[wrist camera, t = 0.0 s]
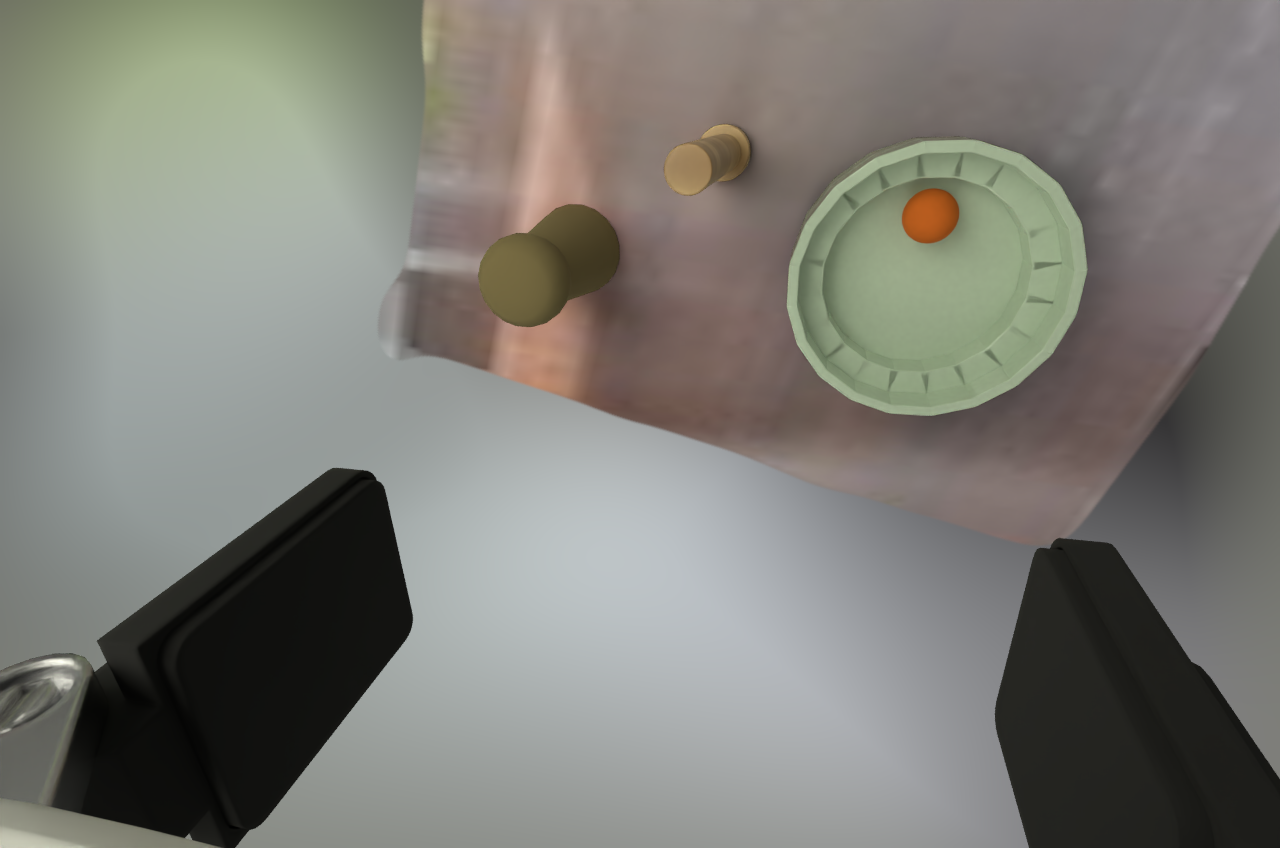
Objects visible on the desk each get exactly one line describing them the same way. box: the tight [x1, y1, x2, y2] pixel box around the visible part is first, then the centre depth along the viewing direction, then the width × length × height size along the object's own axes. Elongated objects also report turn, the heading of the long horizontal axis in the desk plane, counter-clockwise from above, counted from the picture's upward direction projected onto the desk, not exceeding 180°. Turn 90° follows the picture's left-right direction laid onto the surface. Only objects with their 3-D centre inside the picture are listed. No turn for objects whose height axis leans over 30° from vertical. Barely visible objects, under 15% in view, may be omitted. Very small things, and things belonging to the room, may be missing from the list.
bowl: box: [787, 136, 1088, 416], centre depth 39 cm, size 15×15×5 cm
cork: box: [478, 204, 619, 327], centre depth 41 cm, size 6×6×11 cm
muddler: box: [664, 124, 751, 196], centre depth 36 cm, size 3×3×13 cm
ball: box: [902, 188, 959, 244], centre depth 38 cm, size 3×3×3 cm
